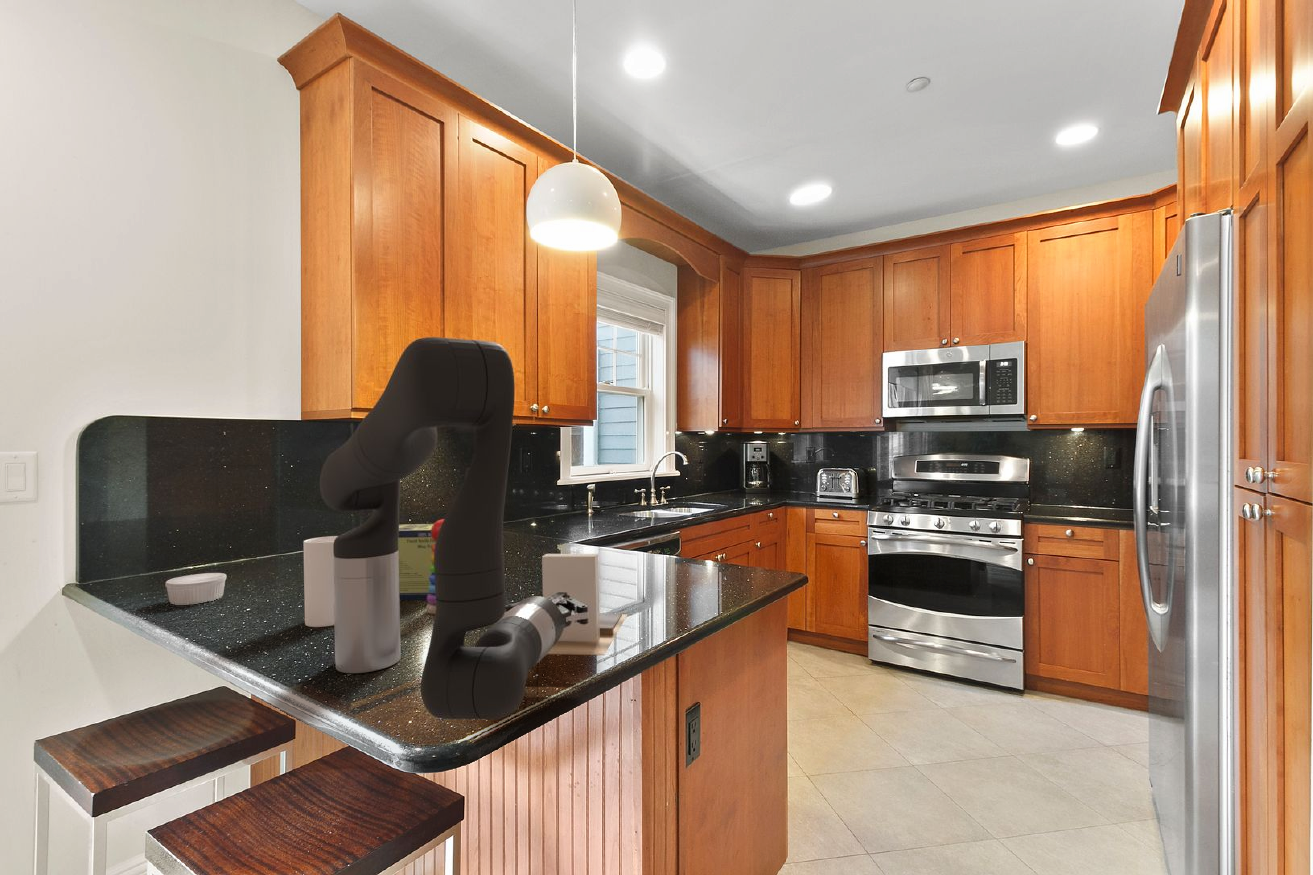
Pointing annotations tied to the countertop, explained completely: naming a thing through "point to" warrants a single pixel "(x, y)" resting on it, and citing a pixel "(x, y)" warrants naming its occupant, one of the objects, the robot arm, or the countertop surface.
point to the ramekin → (196, 588)
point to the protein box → (414, 560)
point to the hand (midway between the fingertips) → (562, 598)
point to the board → (607, 633)
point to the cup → (319, 581)
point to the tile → (575, 589)
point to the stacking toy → (431, 596)
